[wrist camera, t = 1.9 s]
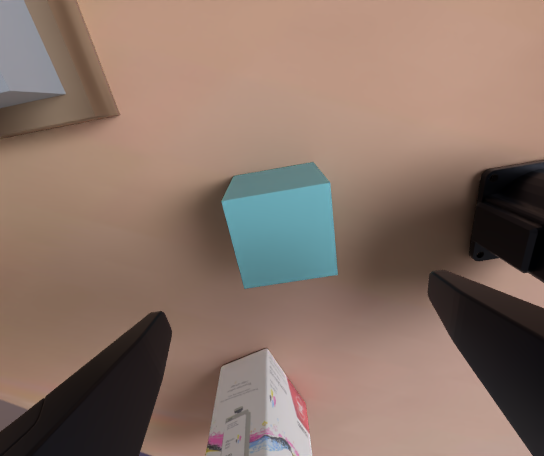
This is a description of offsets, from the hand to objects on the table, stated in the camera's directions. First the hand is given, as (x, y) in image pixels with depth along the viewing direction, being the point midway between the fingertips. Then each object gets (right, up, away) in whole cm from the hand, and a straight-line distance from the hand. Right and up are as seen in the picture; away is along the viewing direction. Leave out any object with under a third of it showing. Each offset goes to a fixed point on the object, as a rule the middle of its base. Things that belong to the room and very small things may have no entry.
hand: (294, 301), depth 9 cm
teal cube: (0, +4, +9) cm, 10 cm away
